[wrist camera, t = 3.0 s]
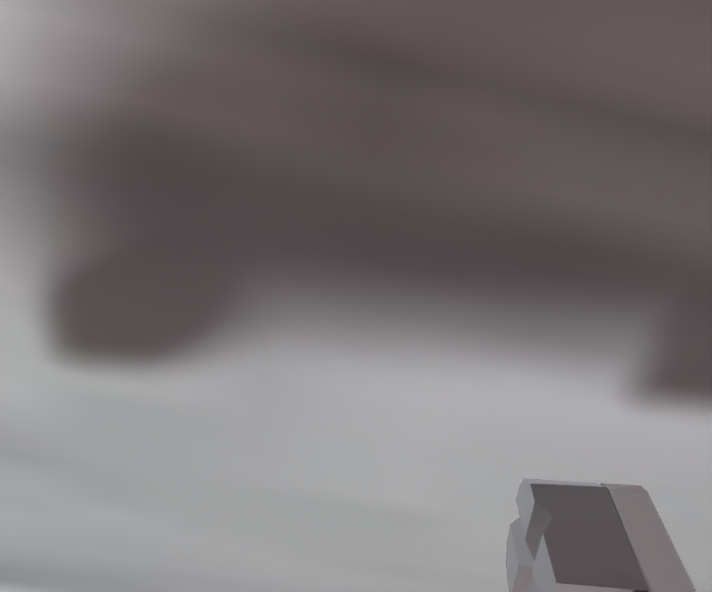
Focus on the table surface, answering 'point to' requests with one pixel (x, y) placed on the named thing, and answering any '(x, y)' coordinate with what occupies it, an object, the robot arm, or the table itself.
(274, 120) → the table surface
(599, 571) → the robot arm
